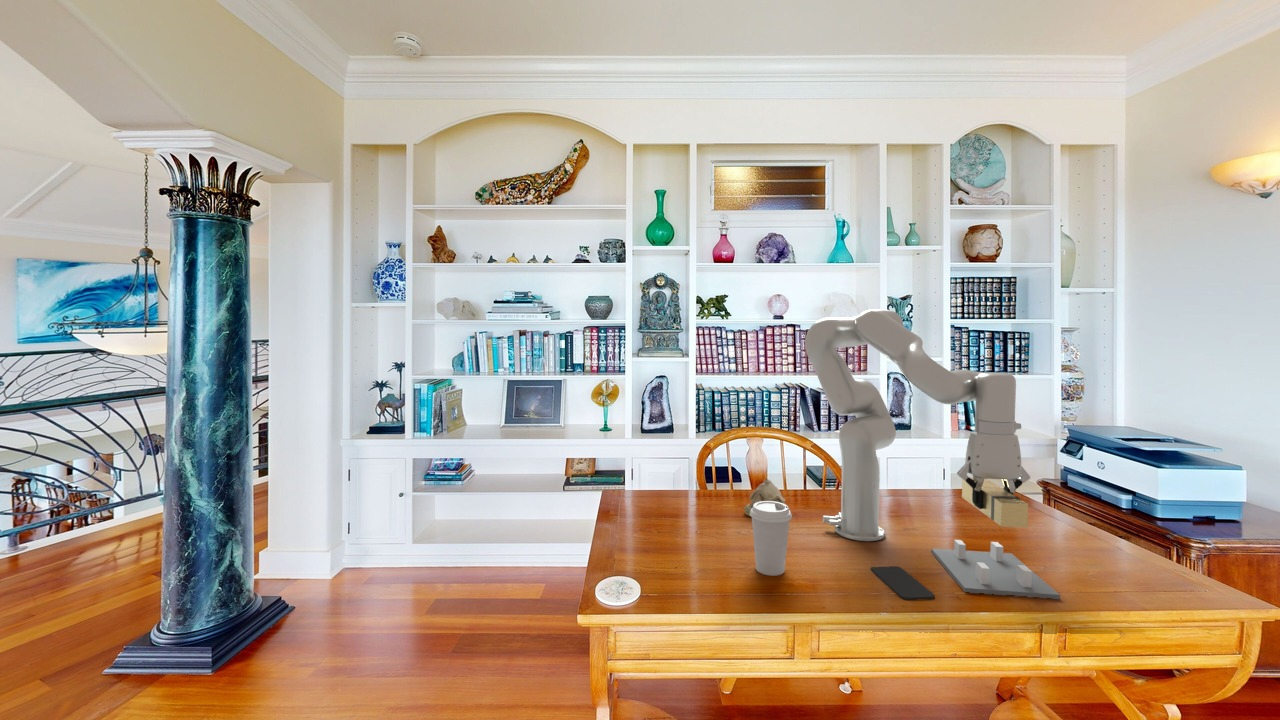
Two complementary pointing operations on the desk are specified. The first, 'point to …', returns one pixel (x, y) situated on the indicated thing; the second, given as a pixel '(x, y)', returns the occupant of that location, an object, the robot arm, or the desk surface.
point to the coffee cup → (770, 536)
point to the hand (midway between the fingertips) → (992, 506)
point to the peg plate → (992, 572)
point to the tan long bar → (999, 504)
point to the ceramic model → (764, 495)
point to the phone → (902, 583)
